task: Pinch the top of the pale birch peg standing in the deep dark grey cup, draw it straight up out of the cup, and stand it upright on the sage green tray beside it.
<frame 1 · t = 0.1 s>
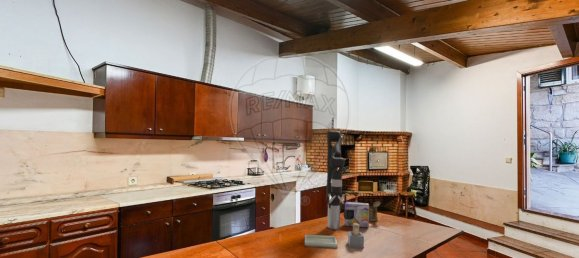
hand: (336, 208, 210), 17 cm above the table, tool pointing down, fingers open, 8 cm apart
sage tray: (320, 243, 188), on the table
birch peg: (355, 234, 187), in the grey cup
cake pan box: (356, 226, 229), on the table
wooden mug: (373, 221, 245), on the table
grey cup: (355, 245, 187), on the table
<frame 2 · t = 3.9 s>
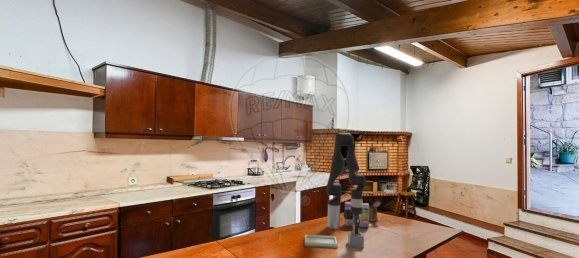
hand: (355, 232, 187), 8 cm above the table, tool pointing down, fingers closed on birch peg, 4 cm apart
birch peg: (355, 234, 187), in the grey cup, touching gripper
everything else where it was.
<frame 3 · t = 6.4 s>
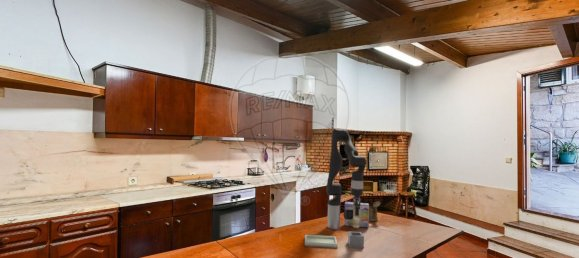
hand: (356, 214, 187), 19 cm above the table, tool pointing down, fingers closed on birch peg, 4 cm apart
birch peg: (356, 216, 187), point 18 cm above the table, touching gripper
everything else where it was.
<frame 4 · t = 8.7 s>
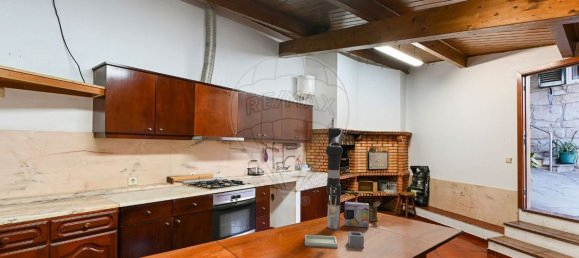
hand: (332, 203, 188), 25 cm above the table, tool pointing down, fingers closed on birch peg, 4 cm apart
birch peg: (332, 205, 188), point 24 cm above the table, touching gripper
everything else where it was.
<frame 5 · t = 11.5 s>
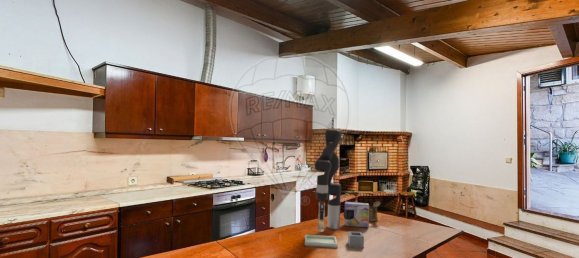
hand: (321, 218, 189), 16 cm above the table, tool pointing down, fingers closed on birch peg, 4 cm apart
birch peg: (321, 220, 189), point 14 cm above the table, touching gripper
everything else where it was.
when the fingers open (10 cm above the table, at t = 13.7 s): birch peg stays where it is, resting on sage tray.
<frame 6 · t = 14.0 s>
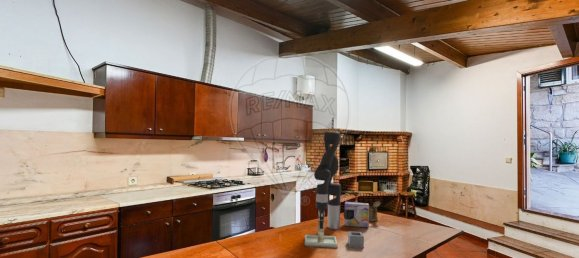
hand: (321, 227, 189), 10 cm above the table, tool pointing down, fingers open, 6 cm apart
birch peg: (320, 231, 188), in the sage tray, point 8 cm above the table
everything else where it was.
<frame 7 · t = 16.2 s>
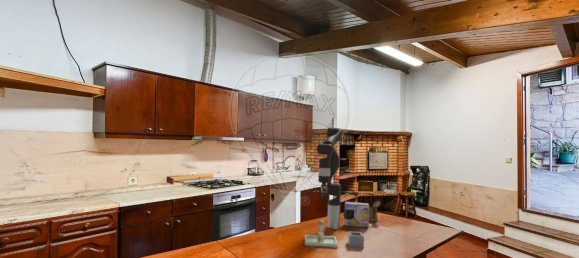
hand: (323, 199, 191), 27 cm above the table, tool pointing down, fingers open, 8 cm apart
nothing on the table moved.
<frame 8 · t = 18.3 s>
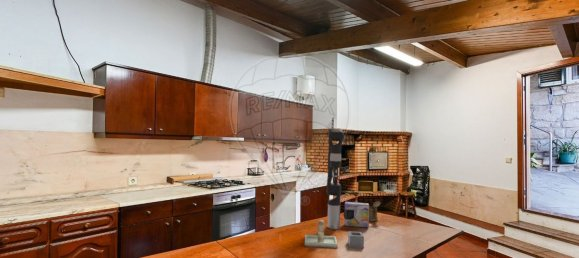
hand: (334, 184, 200), 36 cm above the table, tool pointing down, fingers open, 8 cm apart
nothing on the table moved.
at the end: birch peg inside the target area on the sage tray (0.0 cm from its centre), point 7.5 cm above the sage tray's base; birch peg tilted 0°; the gripper is holding nothing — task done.
